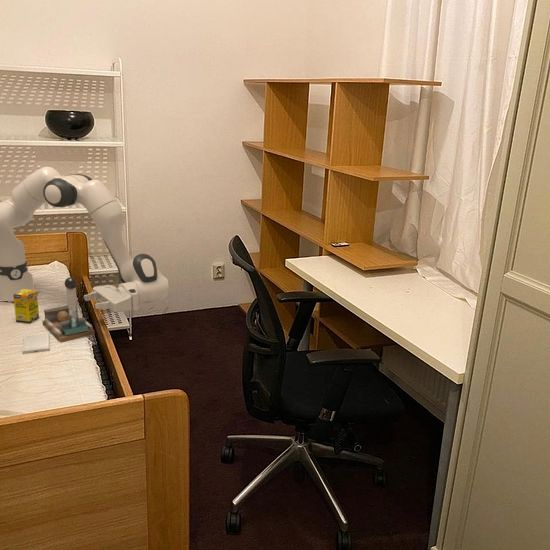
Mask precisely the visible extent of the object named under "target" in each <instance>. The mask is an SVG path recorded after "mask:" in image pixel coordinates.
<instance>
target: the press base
mask: <svg viewBox="0 0 550 550" xmlns="http://www.w3.org/2000/svg"><path fill="white" fill-rule="evenodd" d="M43 313H44V320H42V326H43V327H45V328H46V330H47V331H49V333H50V334H51V335H52V336H53V337H54V338H55V339H56V340H57V341H58V342H59V343H63V342H68V341H73V340H77V339H81V338H85V337H86V338H87V337H90V336H94V335H95V334H96V333H95V332H96V331H95V329H94V328H93V327H94V326H93V325H92V324H90V323H89V322H88V321H87V320H86V324H87V325H88V331H84V332H80V333H75V334H71V335H66V336H65V335H64V334H63V333H61V332H60V324H59V322H62V321H67V320H69V311H68V304H67V305H62V306H57V307H51V308H47V309H46V308H45V309H44V310H43ZM81 317H82V316H81V315H80V314H78V318H81Z"/></svg>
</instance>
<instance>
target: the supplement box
mask: <svg viewBox="0 0 550 550" xmlns="http://www.w3.org/2000/svg"><path fill="white" fill-rule="evenodd" d="M13 297H14V301H13V304H14V305H13V306H14V315H15V322H17V323H23V324H31V323H33V322H35V321H36V320H38V319H39V318H40V313H39V312H40V311H39V302H38V293H37V291H36V290H27V289H22V290H21V291H19V292H17V293H14V294H13Z"/></svg>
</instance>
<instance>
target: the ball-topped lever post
mask: <svg viewBox="0 0 550 550" xmlns="http://www.w3.org/2000/svg"><path fill="white" fill-rule="evenodd" d="M64 286H65V288H66V296H67V297H66V298H67V305H68V311H69V320H67V321H62V322H59V324H60V332H61V333H63V334H64V335H65V336H66V335H71V334H75V333H80V332H84V331H88V325H87V324H86V321H87V320H86V318H85V317H84V316H83V317H82V316H81V318H78V315H79V311H78V310H79V309H78V298H77V286H78V281H77V279H76V278H75V277H68V278H66V279H65V280H64Z"/></svg>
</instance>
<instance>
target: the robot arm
mask: <svg viewBox="0 0 550 550" xmlns="http://www.w3.org/2000/svg"><path fill="white" fill-rule="evenodd" d="M45 203H47V204H48V205H49V206H52V207H53V208H66V207H72V206H76V205H79V204H80V205H82V206H83V207H84V208H85V209H86V211H87V213H88V214H89V217H91V219H92V221H93V223H94V224H95V226H96V227H97V230H98V231H99V233H100V235H101V238H102V240H103V243H104V244H105V247H106V248H107V250H108V253H109V254H110V256H111V258H112V260H113V261H114V264H115V266H116V267H117V272H118V277H119V281H120V283H119V284H118V287H117V286H115V285H111V284H107V285H98V286H94V287H93V288H92V289H91V290H92V292H90V293H88V294H84V295H83V299H84V301H85V302H88V301H91V300H93V299H95V300H97V301H98V302H95V303H94V304H93V307H94V308H95V309H96V310H98V309H99V310H100V309H109V310H111V311H112V312H114V313H123V312H129V311H137V310H139V305H141V304H144V303H145V304H150V303H155V302H157V301H161V300H163V299H164V298H165V299H166V297H167V296H168V294H169V291H170V282H169V280H168V278H167V277H166V276H165V275H163V274H162V273H161V271H160V270H159V267H158V266H157V263H156V260H155V259H154V258H153V257H152V256H151V255H149V254H147V253H139V254H137V255H135V256H133V258H132V256H131V255H130V252H129V250H128V248H127V246H126V245H125V243H124V240H123V238H122V237H123V235H122V232H123V227H124V223H125V215H124V212H123V209H122V207H121V205H120V204H119V202H118V200H117V199H116V197H115V196H114V194H113V193H112V192H111V191H110V189H109V188H108V186H106V185H105V184H104V182H103V181H101V180H100V179H93V178H91V176H88V175H86V174H81V173H77V174H68V175H61V174H60V172H59V171H58V170H57V169H55V168H54V167H51V166H43V167H41V168H39V169H37V170H35V171H33V172H31V173H30V174H29V175H28V176H27V177H26V178H24V179H23V180H22V181H21V182H19V183H18V184H17V185H16V186H15V187H14V188H13V189H12V191H11V196H10V197H9V198H7V199H5V200H3V201H0V300H1V301H0V302H4V301H8V303H9V302H14V297H13V294H14V293H17V292H19V291H21V290H22V289H27V290H36V291H37V292H38V293H40V291H39V289H38V288H35V285H34V279H33V274H32V273H31V272H29V269H28V268H29V267H28V266H29V265H28V261H27V260H26V253H25V252H26V251H25V245H24V242H23V241H22V240H20V239H19V238H17V237H16V235H15V232H14V229H16V228H19V227H23V226H24V225H26V224H27V223H29V222H30V221H31V220H32V219H34V213H35V211H37V210H38V209H39V208H40V207H42V206H43V205H44V204H45Z"/></svg>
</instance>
